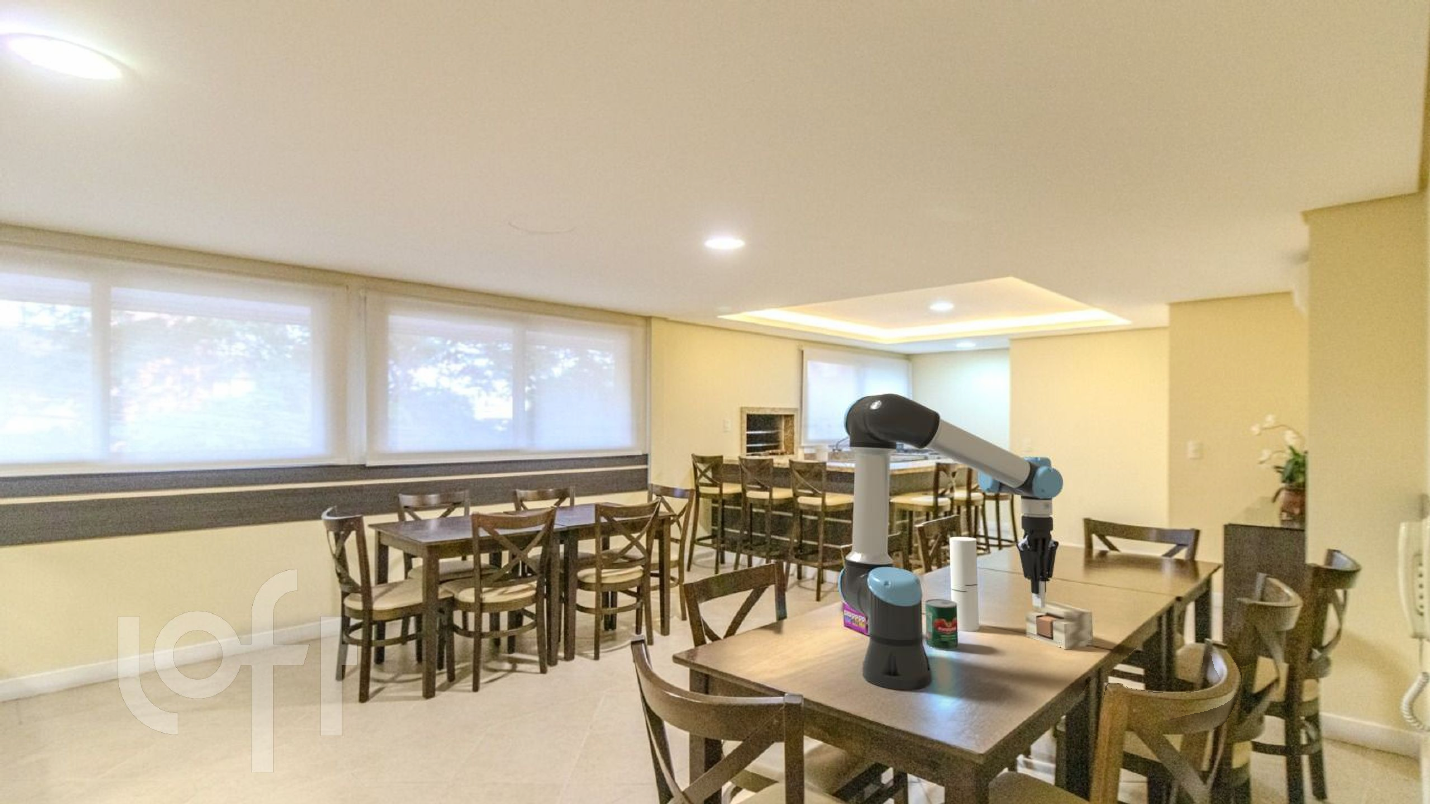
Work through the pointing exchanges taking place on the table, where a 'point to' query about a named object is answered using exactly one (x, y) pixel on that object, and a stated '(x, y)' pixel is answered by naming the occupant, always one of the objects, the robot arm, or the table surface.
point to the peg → (1045, 625)
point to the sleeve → (1062, 625)
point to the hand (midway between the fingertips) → (1039, 605)
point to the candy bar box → (855, 620)
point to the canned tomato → (941, 624)
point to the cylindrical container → (964, 582)
